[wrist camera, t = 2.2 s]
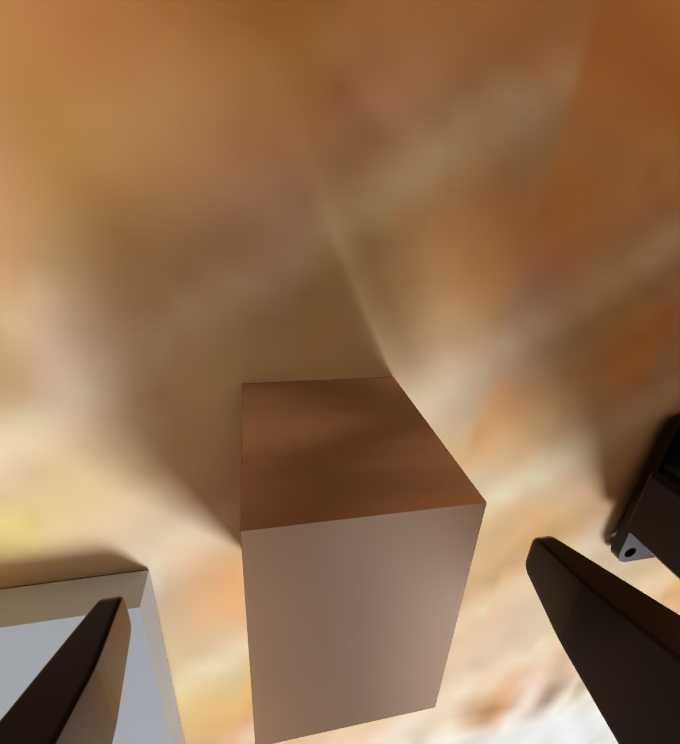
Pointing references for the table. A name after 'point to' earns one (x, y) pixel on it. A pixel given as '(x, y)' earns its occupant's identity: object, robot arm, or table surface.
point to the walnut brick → (348, 553)
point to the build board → (60, 618)
